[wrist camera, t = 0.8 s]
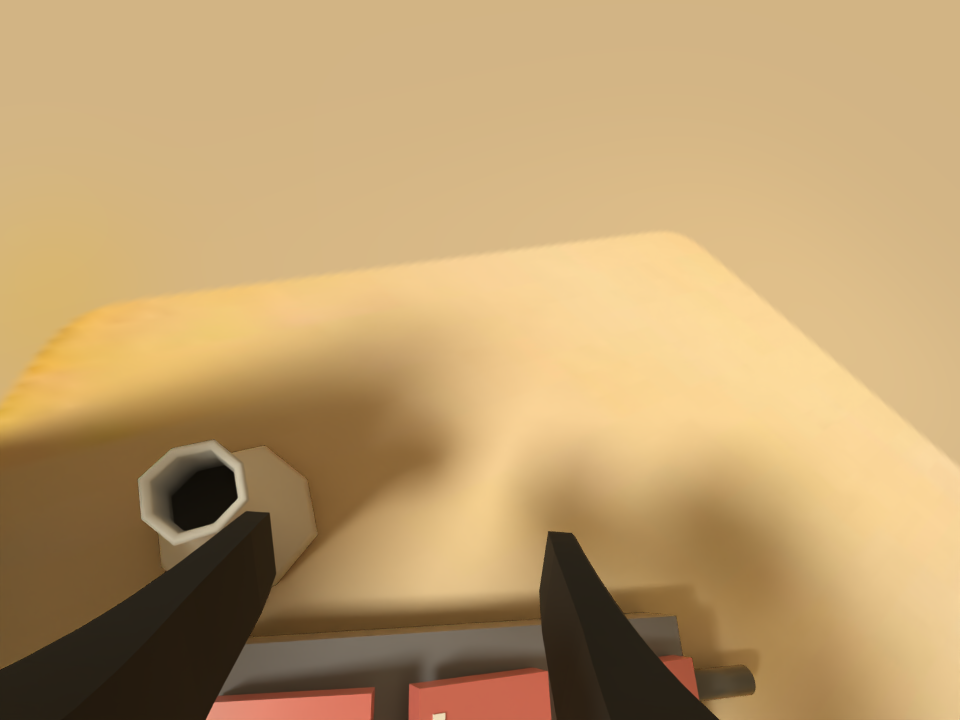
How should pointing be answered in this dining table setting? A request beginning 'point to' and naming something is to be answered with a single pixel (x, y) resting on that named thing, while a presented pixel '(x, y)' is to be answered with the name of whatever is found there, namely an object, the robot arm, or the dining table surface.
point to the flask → (225, 499)
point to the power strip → (434, 659)
